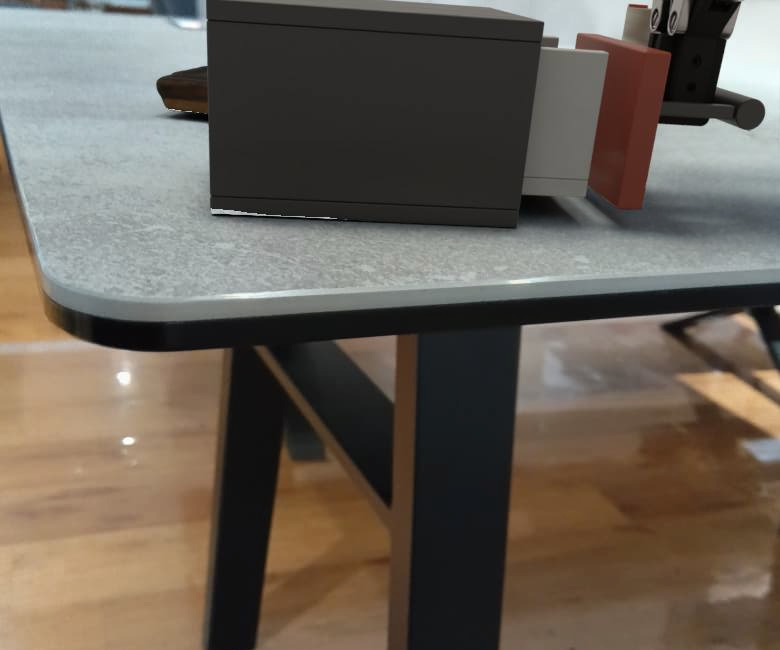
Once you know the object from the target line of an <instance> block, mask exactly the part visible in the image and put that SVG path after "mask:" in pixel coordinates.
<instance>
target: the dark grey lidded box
mask: <svg viewBox="0 0 780 650" xmlns="http://www.w3.org/2000/svg"><path fill="white" fill-rule="evenodd" d="M205 18H206V22H205V23H206V24H205V25H206V64H207V65H206V66H207V75H208V115H207V116H208V166H209V167H208V169H209V173H208V174H209V196H210V197H209V209H210V208H212V209H223V210H234V211H241V212H247V213H257V214H266V215H281V216H305V217H330V218H337V219H347V220H346V221H350V220H359V221H358V222H373V221H377V222H376V223H396V222H397V223H398V224H420V225H421V224H422V225H445V226H446V225H447V226H468V227H493V228H513V229H516V228H518V226H519V217H520V208H521V201H522V196H523V195H522V187H523V180H524V172H525V165H526V157H527V150H528V142H529V135H530V127H531V120H532V112H533V105H534V97H535V90H536V82H537V75H538V67H539V60H540V52H541V43H540V42H542V38H543V35H544V28H545V21H544V20H539V19H536V18H532V17H528V16H524V15H519V14H516V13H512V12H508V11H504V10H501V9H496V8H493V7H489V6H474V5H463V4H462V5H461V4H446V3H433V2H432V3H431V2H420V1H419V2H418V1H403V0H205ZM379 221H380V222H379Z"/></svg>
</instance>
